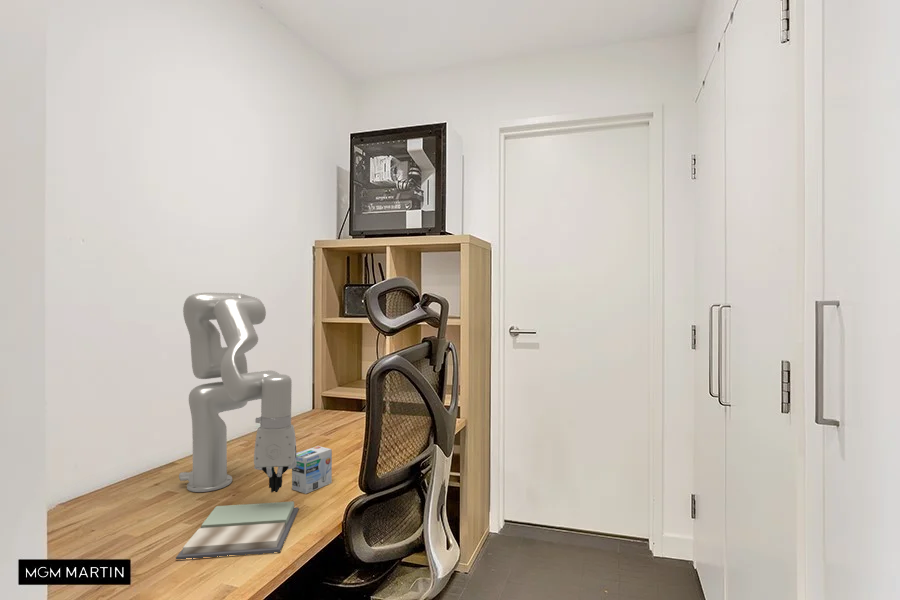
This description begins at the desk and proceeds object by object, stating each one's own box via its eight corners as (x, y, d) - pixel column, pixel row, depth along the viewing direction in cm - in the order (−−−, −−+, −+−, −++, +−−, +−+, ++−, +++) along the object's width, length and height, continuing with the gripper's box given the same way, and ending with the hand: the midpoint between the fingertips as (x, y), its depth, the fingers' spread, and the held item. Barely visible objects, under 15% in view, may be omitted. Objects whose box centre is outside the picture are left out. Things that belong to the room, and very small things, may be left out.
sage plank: (201, 531, 114) (201, 525, 114) (216, 511, 124) (216, 506, 124) (286, 525, 117) (286, 519, 117) (294, 506, 127) (294, 501, 127)
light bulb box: (306, 494, 138) (305, 458, 138) (290, 490, 142) (290, 454, 142) (332, 482, 147) (332, 448, 147) (317, 478, 151) (317, 445, 151)
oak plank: (182, 554, 104) (182, 547, 104) (200, 533, 113) (200, 526, 113) (276, 547, 106) (276, 540, 106) (285, 527, 116) (285, 521, 116)
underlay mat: (175, 560, 103) (175, 557, 103) (213, 515, 124) (213, 512, 125) (279, 552, 106) (279, 549, 106) (298, 510, 127) (298, 507, 127)
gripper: (242, 426, 120) (241, 497, 120) (302, 425, 122) (301, 495, 122) (251, 418, 127) (250, 485, 127) (307, 417, 129) (306, 483, 129)
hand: (275, 490), depth 125 cm, fingers closed
